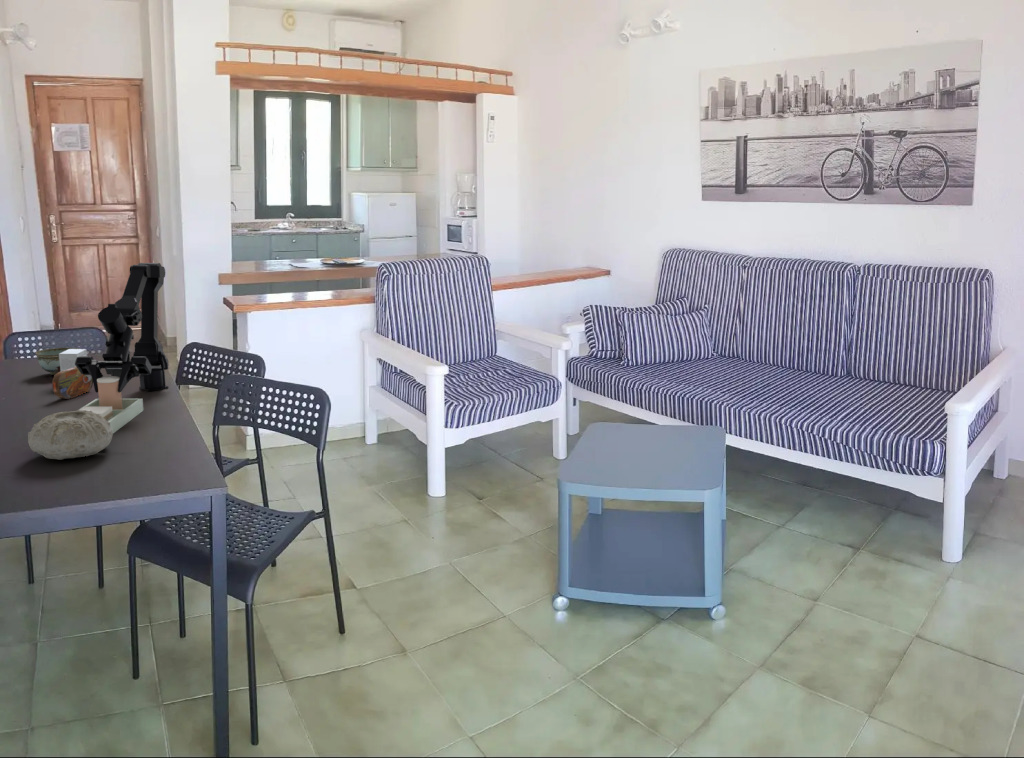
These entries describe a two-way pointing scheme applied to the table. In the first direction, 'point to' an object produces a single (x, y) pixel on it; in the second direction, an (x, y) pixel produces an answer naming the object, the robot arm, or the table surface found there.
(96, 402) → the tote
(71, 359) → the small box
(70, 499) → the table surface
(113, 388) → the canister
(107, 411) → the block
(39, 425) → the grey rounded lump
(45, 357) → the bowl
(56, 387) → the tin
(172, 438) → the table surface
